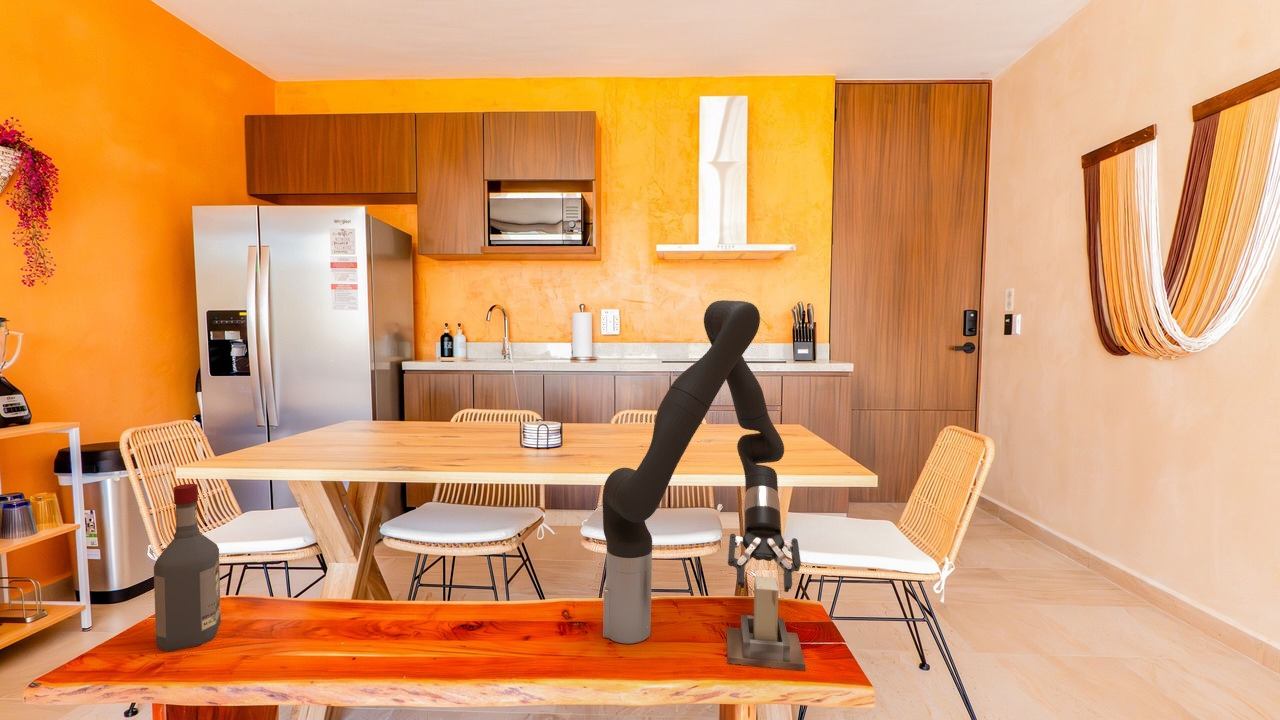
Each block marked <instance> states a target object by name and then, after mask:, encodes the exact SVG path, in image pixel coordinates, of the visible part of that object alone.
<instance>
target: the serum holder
mask: <svg viewBox="0 0 1280 720" xmlns="http://www.w3.org/2000/svg"><path fill="white" fill-rule="evenodd" d="M753 622H754V615H747V614H741V615H740V627H739V628H738V627H727V626H726V652H727V654H728V655H727V664H728V663H732V664H731V665H735V664H741V665H740V666H746V665H751V666H750V667H757V666H764V667H763V668H768V667H771V668H770V669H781V670H791V671H792V670H793V671H803V672H805V671H806V660H805V658H804V654H803V650H802V646H801V643H800V640H799V635H798V633H797V632H787V628H786V623H785V619H784V618H783V617H778V628H777V642H773V641H762V640H753Z"/></svg>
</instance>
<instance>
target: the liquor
mask: <svg viewBox="0 0 1280 720" xmlns="http://www.w3.org/2000/svg"><path fill="white" fill-rule="evenodd" d="M198 486H199V485H198V484H197V483H185V484H179V485H176V486H174V487H173V504H174V505H175V532H174V534H173V539H172V540H171V541H170V543H169V544H167V546H166V547H165V548H164V550H163V551H162V552H161V554H159V556H158V558H157V559H156V560H155V563H154V566H153V585H154V586H153V588H154V589H153V590H154V614H155V615H154V618H155V621H154V623H155V646H156V647H157V648H158V649H159V650H160V651H161V650H162V651H165V652H173V651H178V650H184V649H190V648H195V647H200V646H202V645H204V644H206V643H208V642H210V641H212V640H214V639H215V637H216V635H217V633H218V630H219V627H220V625H221V623H222V622H221V621H222V620H221V615H222V613H221V581H220V580H221V579H220V575H221V574H220V573H221V571H220V548H219V546H218V545H217V543H215V542H214V541H212V540H211V539H209V538H208V537H207V536H205V535H204V534H203V533H201V532H200V528H199V524H198V506H197V505H198V504H197V502H198V501H199V488H198Z"/></svg>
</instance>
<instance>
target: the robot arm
mask: <svg viewBox="0 0 1280 720" xmlns="http://www.w3.org/2000/svg"><path fill="white" fill-rule="evenodd" d="M760 323H761V316H760V311H759V309H758V307H757V306H756V305H755V304H753V303H752V302H749V301H743V300H723V299H722V300H717V301H713V302H711V303H710V304H709V305H708V306H707V308H706V310H705V312H704V315H703V326H704V331H705V333H706V336H707V338H708V340H709V343H710V345H711V346H710V348H709V349H708V350H707V351H706V353H705V354H704V355H703V356H702V357H700V358H699V359H698V360H697V361H696V362H694V363H693V364H692V365H691V366H689V367H688V368H686V369H685V370H684V371H683V372H682V373H681V374H680V375H678V377H676V378H675V380H674V381H673V383H671V385H670V387H669V388H668V390H667V392H666V394H665V395H664V397H663V399H662V400H661V402H660V404H659V406H658V408H657V411H656V415H655V418H654V419H655V420H654V424H653V425H654V426H653V432H652V438H651V442H650V445H649V448H648V450H647V452H646V454H644V457H643V459H642V461H641V462H640V463H639V465H638V467H637V469H633V468H631V467H619V468H617V469H615V470H614V471H612V472H611V473H610V474H609V475H608V476H607V478H606V480H605V482H604V486H603V491H602V529H603V534H604V538H605V541H606V562H605V563H606V565H605V566H606V571H605V572H606V575H605V579H606V580H605V587H604V590H603V607H602V608H603V612H602V613H603V614H602V615H603V616H602V619H603V621H602V622H603V623H602V637H603V638H607V639H609V640H611V641H613V642H616V643H620V644H637V643H641V642H643V641H644V640H646V639H648V637H650V636H651V627H652V623H651V622H652V621H651V620H652V619H651V618H652V616H651V615H652V581H653V580H652V579H653V577H652V569H653V537H652V535H651V533H650V531H649V529H648V526H647V524H646V520H648V519H649V518H650V517H652V516H653V515H654V514H655V512H656V511H657V509H658V507H659V505H660V504H661V502H662V500H663V497H664V496H665V493H666V491H667V488H668V486H669V484H670V481H671V480H672V477H673V475H674V472H675V470H676V469H677V467H678V464H679V462H680V461H681V459H682V457H683V455H684V453H685V452H686V450H687V449H688V446H689V444H690V443H691V441H692V438H693V437H694V435H695V434H696V432H697V431H698V429H699V428H700V426H701V424H702V422H703V421H704V418H705V417H706V415H707V413H708V412H709V410H710V408H711V405H712V403H713V402H714V400H715V399H716V397H717V395H718V393H719V392H720V390H721V388H722V386H723V385H724V383H725V382H726V383H727V385H728V388H729V392H730V395H731V399H732V402H733V407H734V410H735V415H736V419H737V422H738V425H739V427H741V428H742V429H743V430H747V431H755V433H748V434H744V435H742V436H740V438H739V439H738V441H737V444H736V448H737V453H738V456H739V459H740V462H741V464H742V467H743V472H744V479H745V480H744V482H745V484H744V485H745V488H744V489H745V491H744V492H745V495H744V504H743V505H744V507H743V514H744V534H743V536H738V535H736V534H735V533H730V534H729V544H728V556H727V564H728V566H729V567H733V568H735V569H736V583H737V585H738V586H740V587H739V588H740V589H745V566H746V565H747V564H748V563H750V561H751V560H752V559H754V560H755V561H762V560H763V561H766V562H771V561H774V562H775V563H776V564H777V565H778V566H779V567H780V568H781V569H782V570H783V573H782V575H783V589H784V593H788V592H789V590H791V589H792V587H793V575H792V574H793V572H799V571H800V569H801V565H802V562H801V555H800V554H801V553H800V547H799V541H798V539H797V538H795V537H794V538H791V539H788V540H787V539H784V538H783V536H782V522H781V520H782V519H781V503H780V497H779V487H778V484H779V483H778V475H777V471H776V470H775V469H774V468H773V467H770V466H768V465H762V464H766V463H767V464H768V463H775V462H779V461H781V460H782V458H783V457H784V454H785V445H784V442H783V439H782V438H781V436H780V434H779V432H778V430H777V429H776V427H775V425H774V424H773V422H772V419H771V418H770V414H769V412H768V408H767V403H766V400H765V395H764V392H763V388H762V387H761V384H760V382H759V381H758V379H757V377H756V376H755V374H754V373H753V371H752V370H751V368H750V367H749V365H748V363H747V362H746V360H745V358H744V356H743V354H744V353H745V351H747V349H748V348H749V346H750V345H751V344H752V342H753V341H754V339H755V337H756V335H757V333H758V331H759V329H760V328H759V327H760ZM756 432H757V433H756ZM740 544H742V545H743V547H744V548H745V550H744V552H743V553H742V555H741V556H740V557H739V558H737V557H735V555H736V553H735V552H736V548H739V546H740ZM783 548H786V549H787V551H788V552H790V553H791V561H792V562H791V563H790V561H789V560H788V559H787V558H786V554H784V553H783V551H782V550H783Z"/></svg>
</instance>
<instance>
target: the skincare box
mask: <svg viewBox="0 0 1280 720" xmlns="http://www.w3.org/2000/svg"><path fill="white" fill-rule="evenodd" d="M753 585H754V589H753V591H754V592H753V616H754V622H753V640H762V641H773V642H777V628H778V618H779V617H778V615H779V592H780V589H779V583H778V581H777V577H772V576H771V577H769V576H759V575H755V576H754V583H753Z"/></svg>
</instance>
